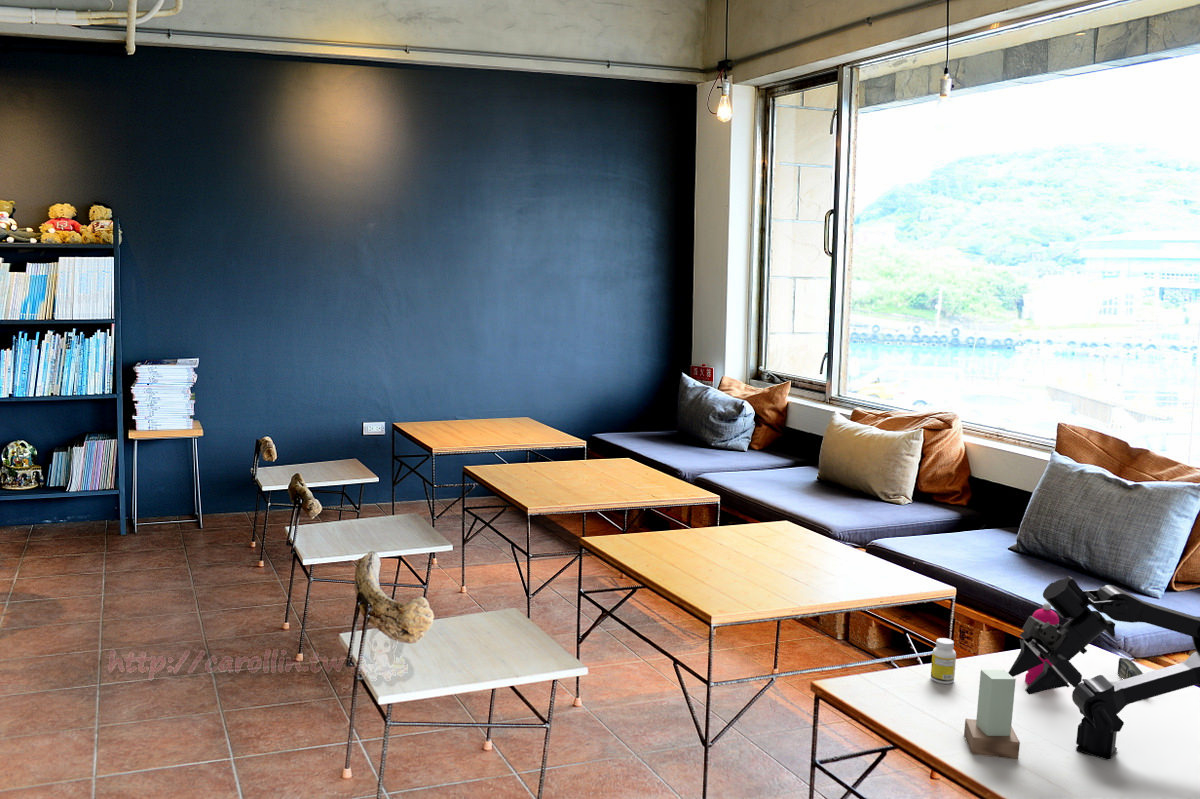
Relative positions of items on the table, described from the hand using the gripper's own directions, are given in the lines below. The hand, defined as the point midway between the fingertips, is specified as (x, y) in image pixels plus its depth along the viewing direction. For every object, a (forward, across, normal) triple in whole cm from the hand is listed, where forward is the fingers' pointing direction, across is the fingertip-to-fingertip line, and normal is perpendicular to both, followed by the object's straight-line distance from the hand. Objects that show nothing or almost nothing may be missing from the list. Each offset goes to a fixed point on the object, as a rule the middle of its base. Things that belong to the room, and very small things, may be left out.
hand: (1018, 683), depth 213 cm
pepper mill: (-4, -35, +23) cm, 43 cm away
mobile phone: (-20, -37, +40) cm, 58 cm away
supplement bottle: (+12, -35, +7) cm, 37 cm away
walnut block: (+13, 0, +7) cm, 15 cm away
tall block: (+10, 0, +4) cm, 11 cm away
